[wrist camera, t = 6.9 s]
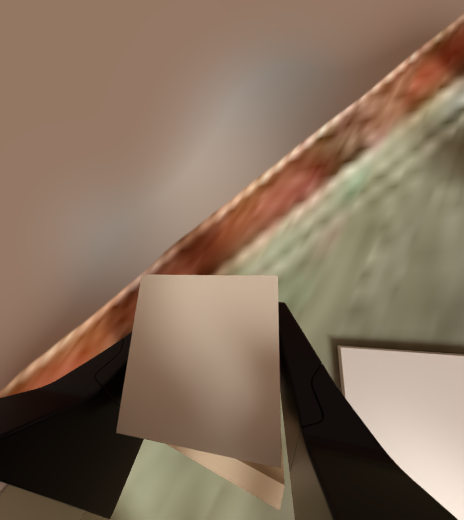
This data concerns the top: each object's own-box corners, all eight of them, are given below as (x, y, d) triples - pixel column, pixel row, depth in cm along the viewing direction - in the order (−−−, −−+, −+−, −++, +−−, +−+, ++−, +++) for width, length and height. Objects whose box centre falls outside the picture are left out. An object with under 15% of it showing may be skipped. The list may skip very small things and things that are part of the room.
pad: (350, 487, 17) (355, 498, 16) (337, 345, 20) (340, 347, 19) (521, 523, 14) (539, 538, 13) (477, 355, 17) (489, 358, 16)
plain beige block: (220, 348, 15) (116, 433, 5) (223, 293, 17) (142, 268, 6) (273, 353, 15) (281, 468, 4) (273, 294, 16) (277, 268, 5)
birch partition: (280, 431, 19) (284, 485, 13) (277, 447, 19) (279, 510, 13) (139, 364, 24) (96, 383, 18) (134, 376, 23) (90, 399, 18)
